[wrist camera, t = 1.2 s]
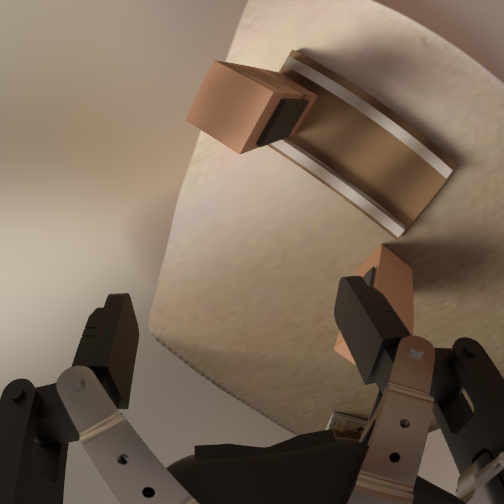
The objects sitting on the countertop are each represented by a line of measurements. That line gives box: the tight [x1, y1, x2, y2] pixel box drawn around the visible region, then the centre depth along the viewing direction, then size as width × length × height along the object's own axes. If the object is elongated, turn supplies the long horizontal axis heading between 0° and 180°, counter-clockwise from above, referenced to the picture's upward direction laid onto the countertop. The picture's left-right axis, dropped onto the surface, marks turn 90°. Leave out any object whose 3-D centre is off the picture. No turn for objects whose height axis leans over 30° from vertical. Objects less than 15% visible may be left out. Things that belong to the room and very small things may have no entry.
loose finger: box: [334, 244, 413, 365], centre depth 28 cm, size 5×4×13 cm
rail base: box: [186, 50, 458, 240], centre depth 23 cm, size 19×10×14 cm, turn 61°
